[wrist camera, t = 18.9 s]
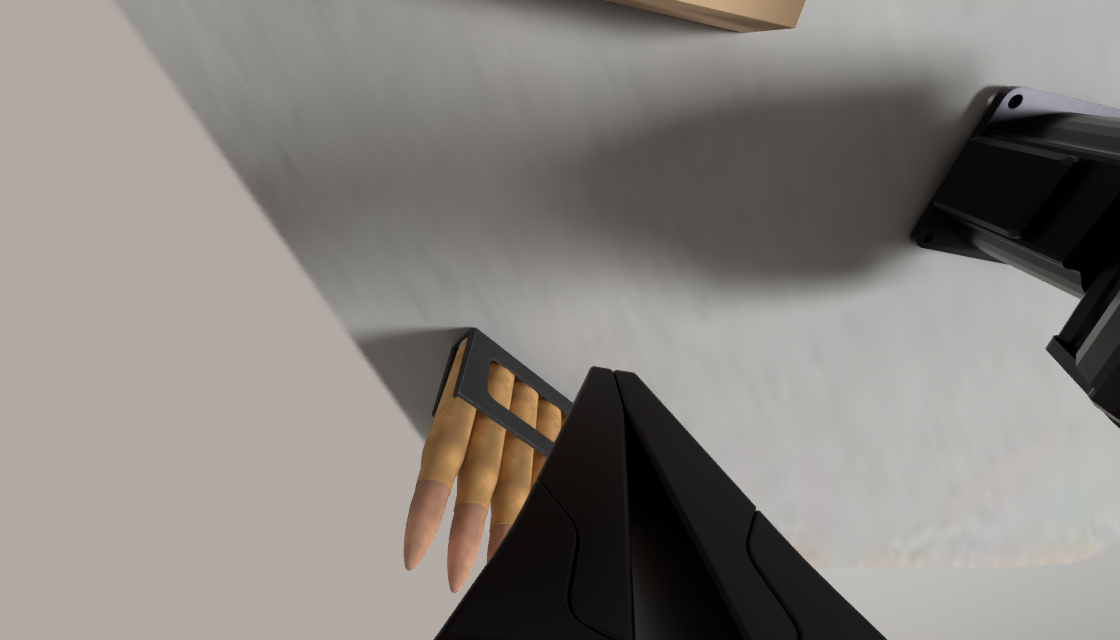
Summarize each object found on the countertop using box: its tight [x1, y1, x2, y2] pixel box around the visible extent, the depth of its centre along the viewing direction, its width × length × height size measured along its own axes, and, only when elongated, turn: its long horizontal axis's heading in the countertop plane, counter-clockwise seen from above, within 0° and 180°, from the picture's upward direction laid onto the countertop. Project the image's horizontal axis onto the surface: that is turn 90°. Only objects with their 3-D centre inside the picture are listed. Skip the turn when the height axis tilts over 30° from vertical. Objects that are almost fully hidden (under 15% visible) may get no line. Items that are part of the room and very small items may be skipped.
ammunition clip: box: [404, 328, 573, 593], centre depth 20 cm, size 11×2×12 cm, turn 45°
